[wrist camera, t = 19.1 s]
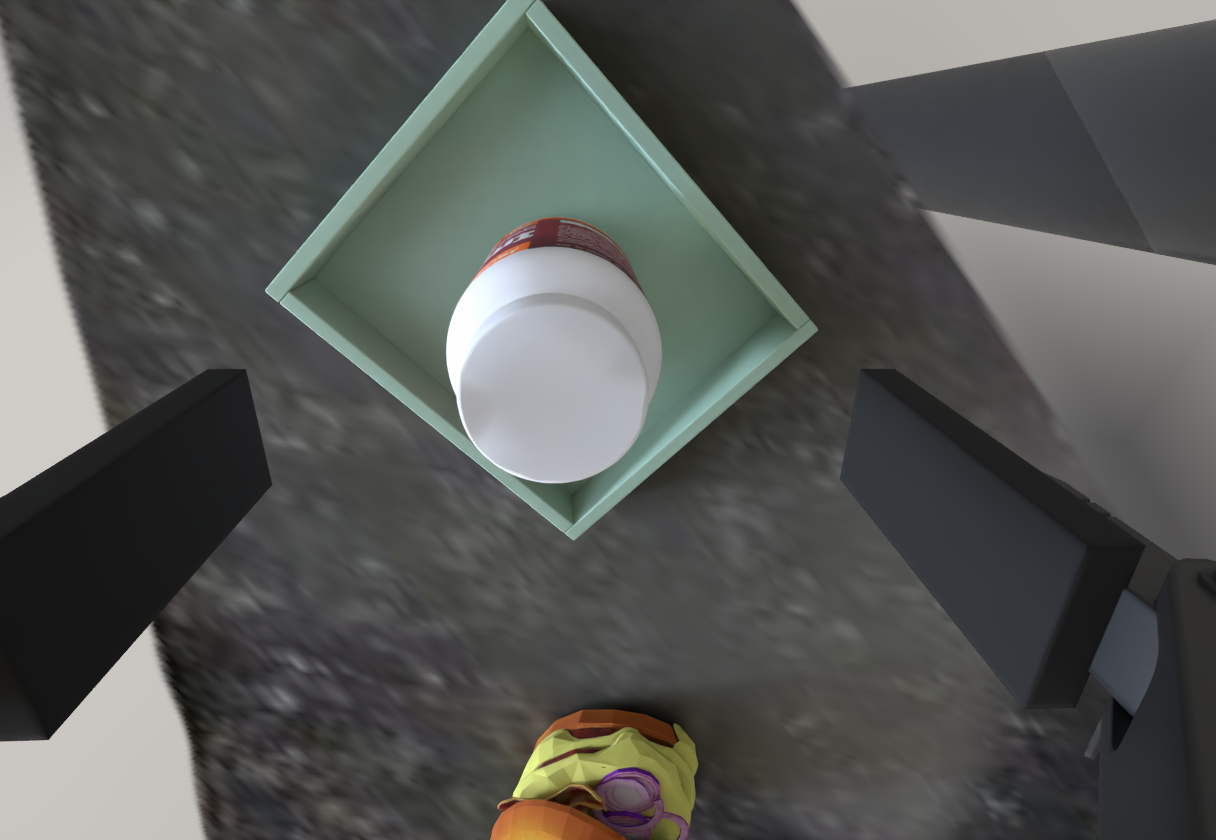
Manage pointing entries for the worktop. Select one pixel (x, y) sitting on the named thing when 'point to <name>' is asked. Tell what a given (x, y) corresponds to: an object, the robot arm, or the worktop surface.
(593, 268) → the pill bottle
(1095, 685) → the worktop surface
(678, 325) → the tray
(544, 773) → the cheeseburger
